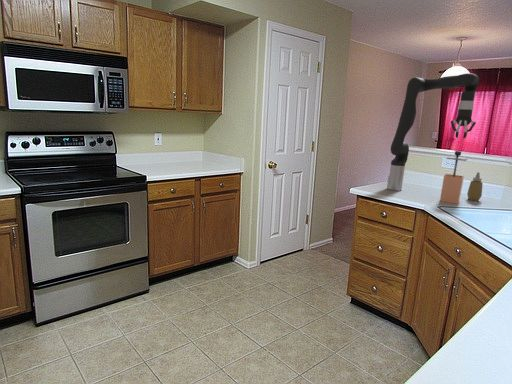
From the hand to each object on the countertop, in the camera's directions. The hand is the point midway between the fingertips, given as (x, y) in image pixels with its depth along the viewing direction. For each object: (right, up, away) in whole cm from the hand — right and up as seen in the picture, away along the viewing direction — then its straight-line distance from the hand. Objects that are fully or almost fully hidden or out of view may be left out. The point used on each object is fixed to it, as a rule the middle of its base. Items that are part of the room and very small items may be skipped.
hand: (460, 138), depth 221 cm
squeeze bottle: (+17, -38, +15) cm, 44 cm away
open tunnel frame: (-2, -38, +8) cm, 39 cm away
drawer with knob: (-1, -27, +6) cm, 28 cm away
